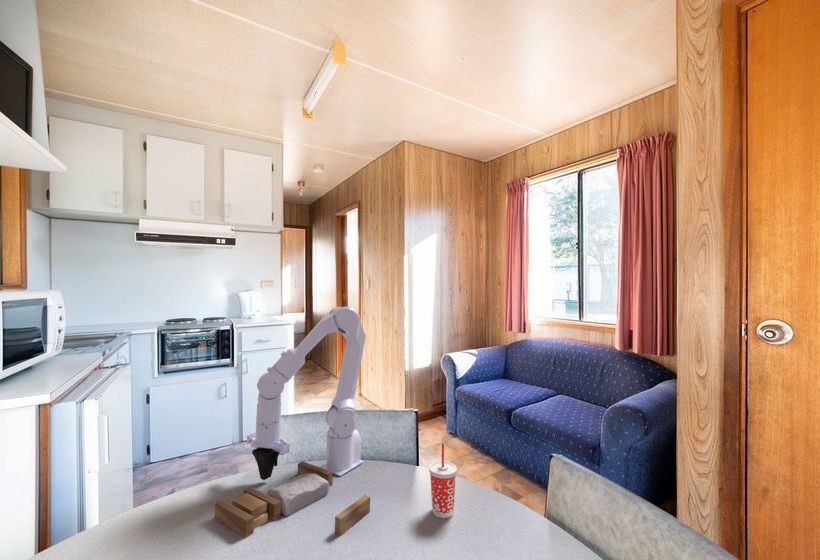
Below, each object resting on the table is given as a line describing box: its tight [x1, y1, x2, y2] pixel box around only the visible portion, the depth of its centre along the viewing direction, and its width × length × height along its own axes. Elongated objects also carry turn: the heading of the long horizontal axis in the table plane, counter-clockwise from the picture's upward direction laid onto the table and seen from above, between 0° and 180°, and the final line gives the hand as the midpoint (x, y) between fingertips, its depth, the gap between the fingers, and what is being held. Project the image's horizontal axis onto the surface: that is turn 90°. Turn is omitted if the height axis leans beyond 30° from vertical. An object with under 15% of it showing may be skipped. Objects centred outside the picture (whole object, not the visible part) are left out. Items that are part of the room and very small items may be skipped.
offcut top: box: [231, 493, 267, 519], centre depth 68 cm, size 3×7×2 cm, turn 58°
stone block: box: [267, 473, 330, 517], centre depth 75 cm, size 12×5×10 cm
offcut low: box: [253, 513, 268, 531], centre depth 67 cm, size 4×8×2 cm, turn 59°
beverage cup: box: [428, 442, 458, 519], centre depth 71 cm, size 6×6×14 cm
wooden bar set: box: [214, 461, 371, 539], centre depth 70 cm, size 23×26×3 cm
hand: (265, 477), depth 82 cm, fingers closed
